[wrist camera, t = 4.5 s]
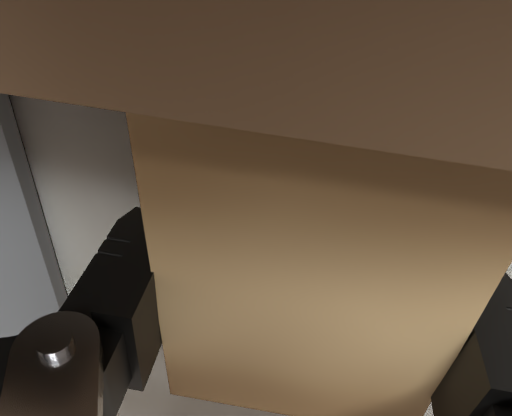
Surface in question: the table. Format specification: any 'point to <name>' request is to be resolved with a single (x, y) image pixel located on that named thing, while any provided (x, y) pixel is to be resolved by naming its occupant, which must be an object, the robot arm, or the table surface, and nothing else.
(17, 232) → the slate mat
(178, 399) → the table surface
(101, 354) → the robot arm
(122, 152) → the table surface
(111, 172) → the table surface
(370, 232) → the oak block
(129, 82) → the walnut shelf
